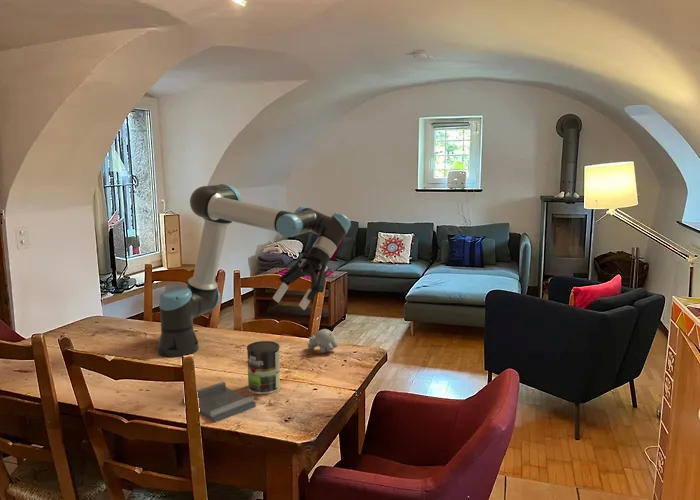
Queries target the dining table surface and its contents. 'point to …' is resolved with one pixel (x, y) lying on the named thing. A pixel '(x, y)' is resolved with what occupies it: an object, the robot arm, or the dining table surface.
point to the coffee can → (263, 367)
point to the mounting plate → (222, 402)
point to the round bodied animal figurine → (322, 341)
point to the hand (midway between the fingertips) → (288, 303)
